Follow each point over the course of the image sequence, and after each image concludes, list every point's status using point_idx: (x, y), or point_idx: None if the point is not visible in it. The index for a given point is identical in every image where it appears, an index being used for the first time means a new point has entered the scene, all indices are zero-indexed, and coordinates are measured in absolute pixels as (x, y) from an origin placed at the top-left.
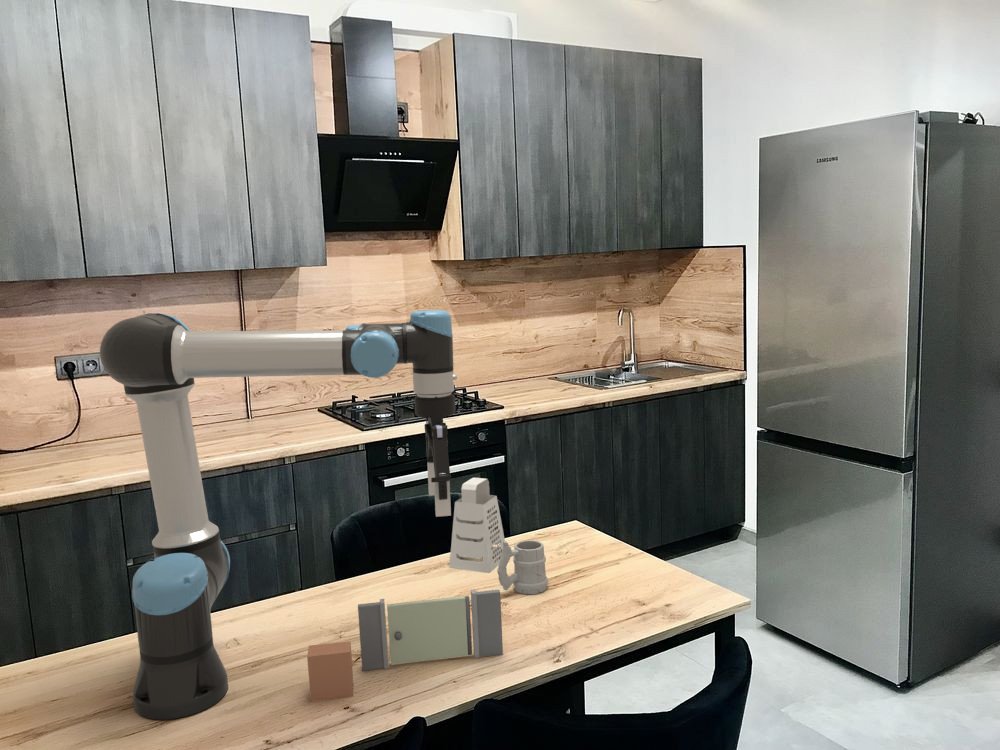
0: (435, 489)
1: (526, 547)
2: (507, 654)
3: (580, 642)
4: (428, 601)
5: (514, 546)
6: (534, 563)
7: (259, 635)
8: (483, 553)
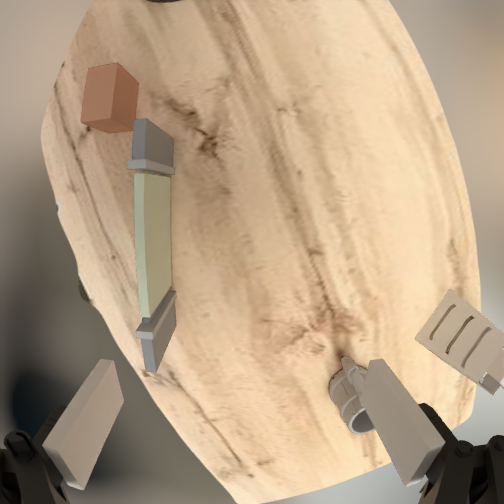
0: (58, 424)
1: None
2: None
3: (183, 404)
4: (138, 252)
5: None
6: (340, 413)
7: (311, 18)
8: (434, 343)
